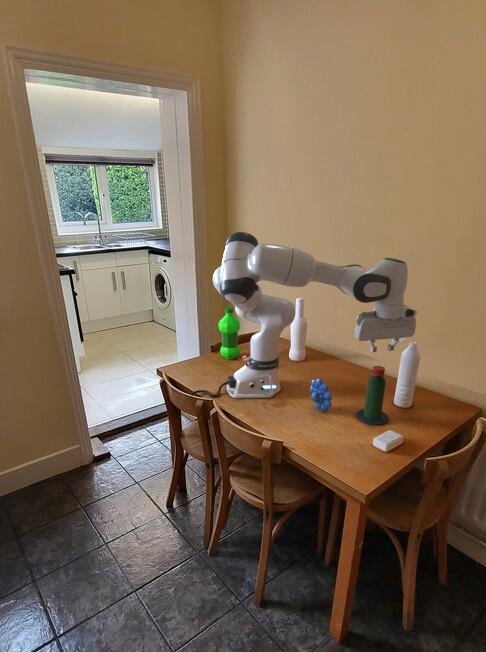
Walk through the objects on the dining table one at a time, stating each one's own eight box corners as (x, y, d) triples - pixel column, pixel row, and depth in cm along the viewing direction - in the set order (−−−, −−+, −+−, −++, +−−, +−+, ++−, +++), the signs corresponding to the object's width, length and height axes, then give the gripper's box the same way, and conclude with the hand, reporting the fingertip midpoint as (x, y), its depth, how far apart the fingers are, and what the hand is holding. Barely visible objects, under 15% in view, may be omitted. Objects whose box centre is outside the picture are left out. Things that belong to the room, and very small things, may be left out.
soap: (388, 436, 137) (389, 428, 136) (403, 443, 133) (404, 435, 132) (371, 445, 132) (372, 437, 131) (386, 453, 128) (387, 445, 127)
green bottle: (368, 421, 145) (375, 373, 137) (360, 413, 150) (366, 366, 142) (383, 419, 146) (391, 371, 138) (375, 411, 151) (382, 365, 143)
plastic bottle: (219, 354, 208) (217, 306, 198) (239, 353, 209) (238, 305, 199) (220, 361, 199) (218, 311, 189) (241, 360, 200) (241, 310, 190)
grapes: (301, 405, 157) (302, 377, 152) (314, 401, 160) (316, 373, 155) (321, 418, 148) (323, 388, 143) (335, 414, 151) (338, 384, 146)
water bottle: (415, 405, 157) (426, 343, 146) (403, 409, 154) (415, 346, 143) (396, 396, 163) (406, 336, 153) (385, 400, 160) (394, 339, 150)
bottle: (306, 361, 198) (310, 300, 186) (289, 361, 199) (292, 300, 186) (304, 355, 206) (307, 296, 193) (288, 355, 206) (290, 296, 193)
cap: (375, 377, 139) (376, 370, 138) (369, 372, 142) (370, 366, 141) (386, 375, 140) (387, 369, 139) (380, 371, 143) (381, 365, 142)
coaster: (365, 427, 143) (365, 425, 142) (351, 412, 152) (351, 410, 152) (394, 423, 145) (394, 421, 144) (378, 408, 154) (378, 407, 154)
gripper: (362, 315, 127) (357, 356, 133) (421, 310, 131) (414, 351, 137) (353, 310, 133) (349, 350, 138) (410, 306, 136) (403, 345, 142)
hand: (381, 350), depth 138 cm, fingers open, 5 cm apart
